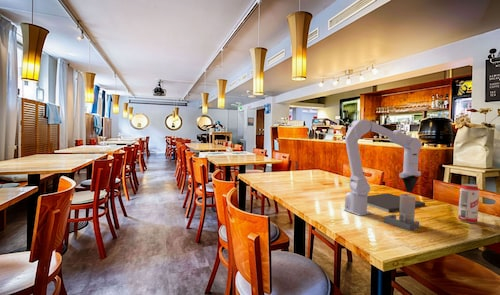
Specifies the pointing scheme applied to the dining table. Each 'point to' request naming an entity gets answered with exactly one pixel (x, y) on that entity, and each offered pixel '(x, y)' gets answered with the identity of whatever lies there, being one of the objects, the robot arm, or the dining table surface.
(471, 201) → the beer can
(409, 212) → the energy drink
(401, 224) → the metal berth
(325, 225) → the dining table surface
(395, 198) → the notebook
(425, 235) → the dining table surface
